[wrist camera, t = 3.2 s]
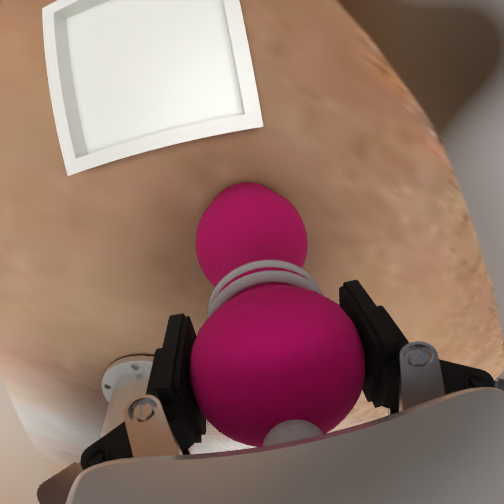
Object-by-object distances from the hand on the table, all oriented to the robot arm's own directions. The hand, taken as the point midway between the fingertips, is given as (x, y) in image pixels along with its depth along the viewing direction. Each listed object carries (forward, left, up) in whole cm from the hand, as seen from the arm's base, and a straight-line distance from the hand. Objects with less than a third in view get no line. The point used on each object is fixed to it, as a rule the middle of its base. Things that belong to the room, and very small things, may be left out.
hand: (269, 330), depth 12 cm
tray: (+14, +5, -14) cm, 20 cm away
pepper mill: (0, 0, -14) cm, 14 cm away
